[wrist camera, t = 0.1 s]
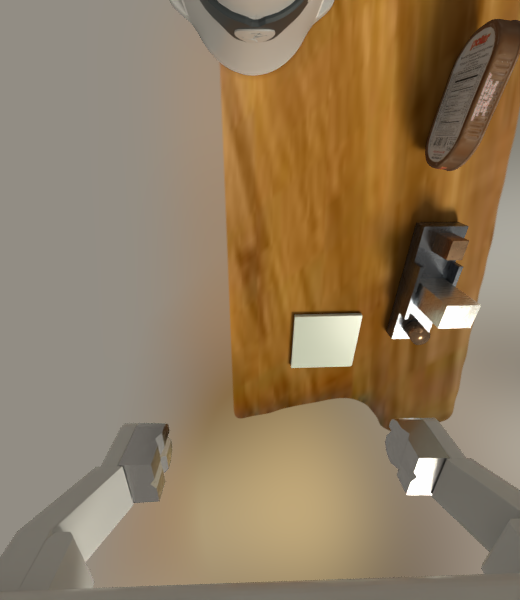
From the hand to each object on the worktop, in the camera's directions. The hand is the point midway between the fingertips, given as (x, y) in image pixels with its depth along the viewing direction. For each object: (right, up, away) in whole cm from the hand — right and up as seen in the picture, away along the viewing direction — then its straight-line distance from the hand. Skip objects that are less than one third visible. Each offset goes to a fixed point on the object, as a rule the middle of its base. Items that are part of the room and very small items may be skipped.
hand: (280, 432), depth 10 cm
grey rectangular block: (+28, +7, +39) cm, 49 cm away
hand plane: (+28, +8, +41) cm, 51 cm away
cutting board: (+12, -3, +47) cm, 49 cm away
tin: (+24, +31, +28) cm, 49 cm away
